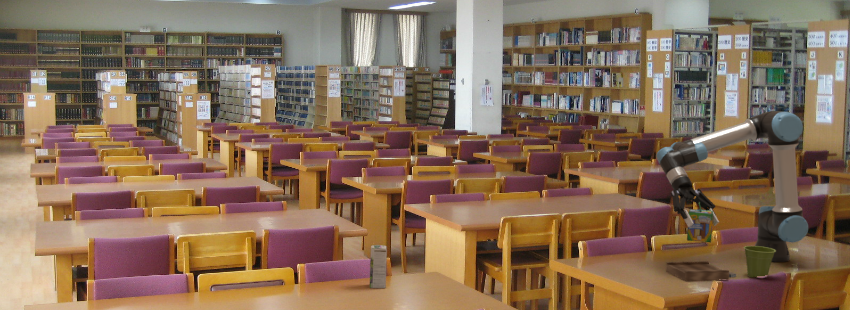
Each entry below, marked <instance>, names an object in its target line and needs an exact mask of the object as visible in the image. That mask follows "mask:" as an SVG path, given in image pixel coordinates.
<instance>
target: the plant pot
mask: <svg viewBox="0 0 850 310" xmlns="http://www.w3.org/2000/svg"><path fill="white" fill-rule="evenodd" d="M743 249H744V254H745V259H746V270H747V272H746V273H747V277H749V278H755V277H757V276H765V275H768V276H769V272H770V268H771V264H772V258H773V255H774V252H776V250H774V249H772V248H767V247H761V246H755V245H746V246H743Z"/></svg>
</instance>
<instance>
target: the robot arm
mask: <svg viewBox="0 0 850 310" xmlns="http://www.w3.org/2000/svg"><path fill="white" fill-rule="evenodd" d="M803 130H804V127H803V121H802V120H801V119H800V117H799V116H798V115H796V114H794V113H792V112H788V111H779V110H777V111H776V110H769V111H765V112H763V113H760V114H756V115H755V116H751V117H749V118H746V119H745V121H744V122H741V123H737V124H735V125H731V126H729V127H725V128H721V129H719V130H718V129H717V130H716V131H713V132H709V133H707V134H703V135H699V136H697V137H693V138H690V139H687V140H683V141H676V142H674V143H672V144H671V145H670V146H665V147H662V148H661V149H659V150H658V151H657V153H656V155H655V156H656V160H657V161H658V164H659V166H660V168H661V169H662V171H663V172H664V174H665V177H666V178H667V180H668V182H669V184H670V185H671V188H672V189H673V190H672V191H671V192H670V195H671V197H672V207H673V211H674V213H676V214H677V215H680V216H681V218H682V220H684V222H685V224H686V225H687V228H688V227H691V226H692V225H693V224H694V223H693V221H692V219H691V217H690V215H689V214H688V213H689V211H688V210H687V209H685V206H686V202H688V201H690V202H693V203H696V204H697V205H698V206H699V202H700V206H701V209H703V210H707V211H713V220H712V226H714V227H715V226H717V225H718V224H719V223H720V221H719V219H718V217H717V214H716V212H715V211H714V209H715V208H716V205H715V203H713V202H712V201H711V200H710V199H709V198H708V197H707V196H706V195H705V194H704V193H703V191H702V190H701V189H700V187H699V188H697V189H694V188H693V182H692V181H691V179H690V178H689V176H688V173H687V172H686V169H684V167H687V166H690V165H693V164H697V163H701V162H703V161H705V160H707V159H708V156H709V154H708V153H710V152H713V151H717V150H719V149H720V150H721V149H722V148H726V147H730V146H732V145H735V144H738V143H742V142H745V141H748V140H751V141H756V140H759V139H766V138H767V143H768V144H767V145H768V146H769V147H770V148H771V149H772V161H773V177H774V179H773V180H774V196H775V205H774V206H771V205H763V206H760V207H759V211H758V214H757V215H758V219H757V220H758V221H757V240H756V242H755V244H754V246H761V247H767V248H772V249H774V250H776V252H774V255H773V258H772V261H771V263H772V262H776V263H783V262H789V261H790V256H791V255H790V252H789V251H790V250H789V247H788V243H798V242H800V241H802V240H803V239H804V238H805V237H806V235H807V234H808V231H809V224H808V221H807V220H806V219H805V218H804V215H803V213H804V212H803V208H802V207H801V206H800V204H799V197H798V180H797V179H798V177H797V176H798V175H797V161H796V148H797V146H798V145H799V143H800V142H799V141H800V140H799V138H800V136H801V135H802V134H803Z"/></svg>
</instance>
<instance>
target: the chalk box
mask: <svg viewBox="0 0 850 310" xmlns="http://www.w3.org/2000/svg"><path fill="white" fill-rule="evenodd" d="M698 207H699V209H695V208H694V209H692V208H690V209H689V211H688V214H689V215H690V217H691V219H692V221H693V223H694V224H693V225H692V226H691V227H688V226H687V232H686V233H687V234H686V241H689V242H701V243H702V242H703V243H712V232H713V224H712V220H713V211H714V210H713V211H707V210H705V209H702V207H701V206H700V202H699V205H698Z"/></svg>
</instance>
